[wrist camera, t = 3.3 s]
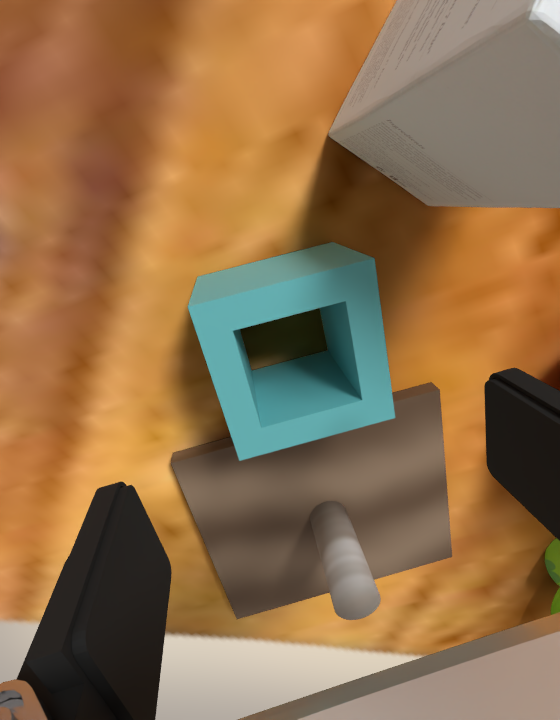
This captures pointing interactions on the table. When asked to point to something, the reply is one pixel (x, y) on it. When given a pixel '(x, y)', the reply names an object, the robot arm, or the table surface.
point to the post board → (308, 476)
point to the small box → (462, 103)
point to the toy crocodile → (554, 571)
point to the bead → (302, 375)
